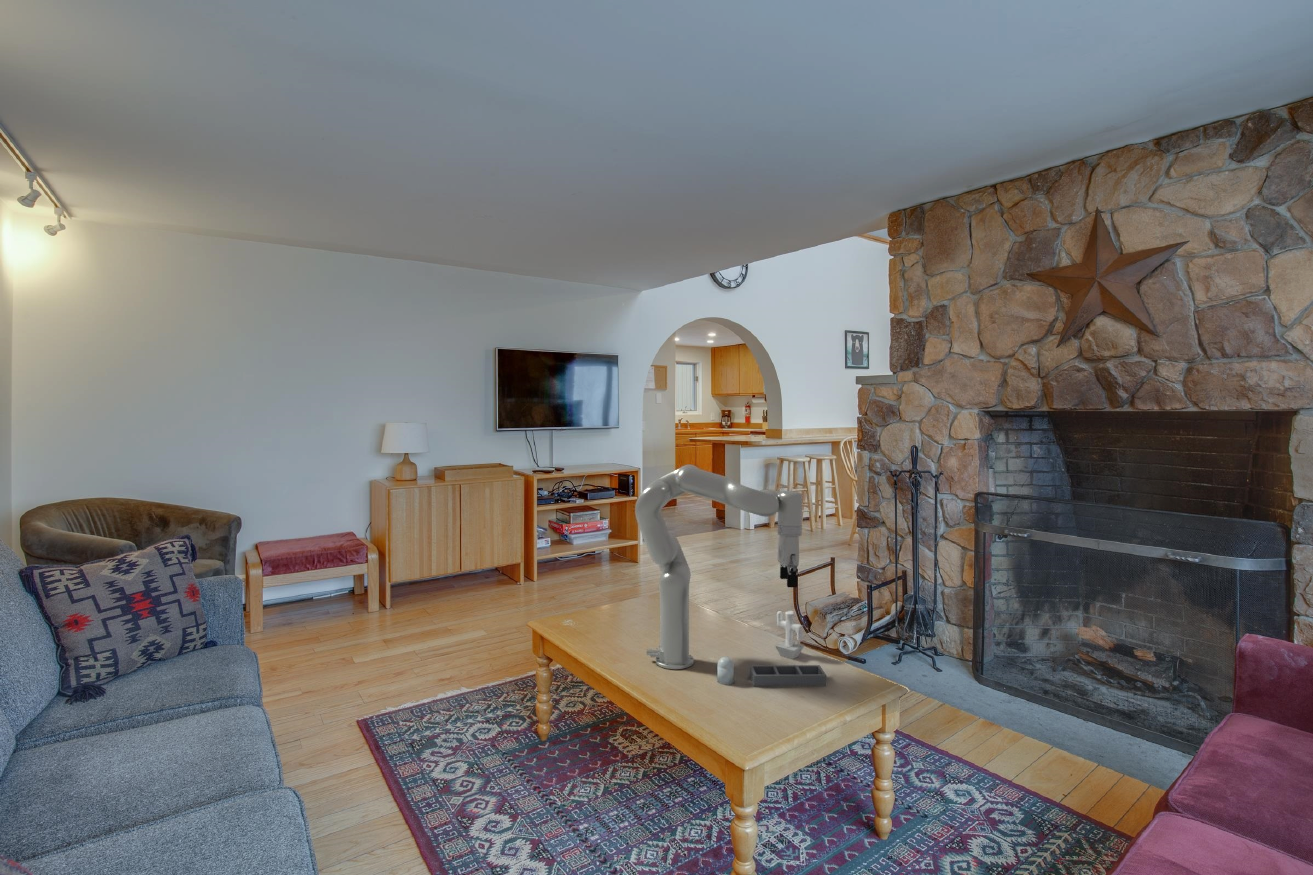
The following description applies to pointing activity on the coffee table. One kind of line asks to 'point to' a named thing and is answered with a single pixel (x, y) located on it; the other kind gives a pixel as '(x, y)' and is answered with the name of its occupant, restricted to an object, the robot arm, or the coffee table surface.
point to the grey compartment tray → (787, 675)
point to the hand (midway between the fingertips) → (788, 582)
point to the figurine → (789, 636)
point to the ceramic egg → (725, 671)
